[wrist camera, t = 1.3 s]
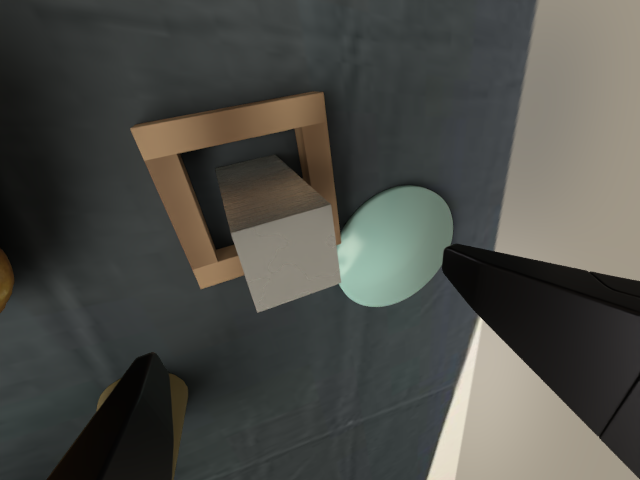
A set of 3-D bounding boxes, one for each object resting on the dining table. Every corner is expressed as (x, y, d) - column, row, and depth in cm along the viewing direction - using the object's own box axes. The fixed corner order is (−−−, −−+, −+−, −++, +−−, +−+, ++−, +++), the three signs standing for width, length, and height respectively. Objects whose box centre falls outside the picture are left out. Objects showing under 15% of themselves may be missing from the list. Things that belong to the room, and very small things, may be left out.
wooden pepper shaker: (183, 421, 25) (177, 612, 16) (95, 433, 23) (29, 670, 13) (193, 368, 23) (193, 553, 14) (98, 374, 20) (23, 607, 11)
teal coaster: (453, 169, 24) (459, 171, 23) (443, 279, 29) (447, 282, 29) (324, 206, 21) (328, 210, 20) (340, 319, 27) (343, 323, 26)
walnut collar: (313, 91, 17) (323, 92, 16) (332, 233, 22) (341, 243, 21) (135, 124, 15) (130, 128, 14) (200, 275, 20) (200, 289, 19)
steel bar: (274, 154, 18) (330, 204, 11) (286, 208, 20) (341, 282, 13) (214, 168, 17) (230, 233, 10) (232, 222, 19) (257, 313, 12)
